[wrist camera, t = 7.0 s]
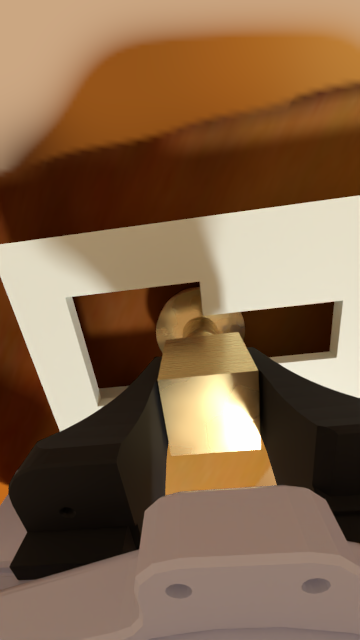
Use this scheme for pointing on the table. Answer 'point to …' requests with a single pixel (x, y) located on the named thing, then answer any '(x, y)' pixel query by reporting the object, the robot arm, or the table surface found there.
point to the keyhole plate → (185, 267)
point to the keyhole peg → (206, 379)
